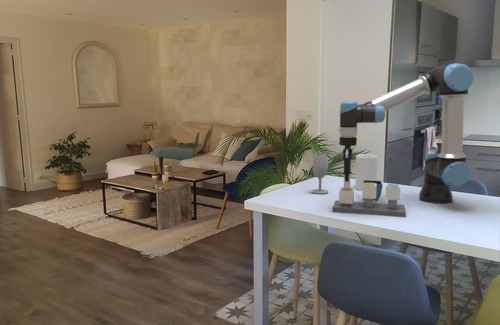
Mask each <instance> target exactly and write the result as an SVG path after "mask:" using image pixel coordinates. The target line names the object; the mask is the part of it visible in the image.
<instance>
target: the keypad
mask: <svg viewBox="0 0 500 325" xmlns="http://www.w3.org/2000/svg"><path fill="white" fill-rule="evenodd" d="M397 201H398V200H387V203H382V202H374V201H373V199H369V198H364V201H353V204H346V203H339V200H334V204H333V205H332V211H331V212H332V213H343V214H346V213H347V214H355V215H357V214H360V215H370V216H372V215H373V216H387V217H397V218H398V217H400V218H401V217H402V218H406V217H407V211H406V206H405V204H399V203H398V202H397ZM397 203H398V204H397Z"/></svg>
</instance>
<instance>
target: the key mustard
mask: <svg viewBox="0 0 500 325" xmlns="http://www.w3.org/2000/svg"><path fill="white" fill-rule="evenodd" d="M376 188H377V183H367V182H365V183H363V185H362V190H361V199H365V198H369V199H376Z"/></svg>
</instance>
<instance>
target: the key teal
mask: <svg viewBox="0 0 500 325" xmlns="http://www.w3.org/2000/svg"><path fill="white" fill-rule="evenodd" d="M401 188H402V187H401V185H400V184H398V183H385V200H387V201H388V200H397V201H401Z"/></svg>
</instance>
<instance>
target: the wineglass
mask: <svg viewBox="0 0 500 325" xmlns="http://www.w3.org/2000/svg"><path fill="white" fill-rule="evenodd" d="M312 161H313V162H312V173H313V175H314V176H315V177H316V178H317V179H318V188H316V189H312V191H311V193H313V194H316V195H325V194H328V193H329V190H328V189H324V188H322V179H323V178H324V177H326V176H327V174H328V170H329V162H328V156H327V153H326V152H315V153H314V156H313V160H312Z"/></svg>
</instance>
